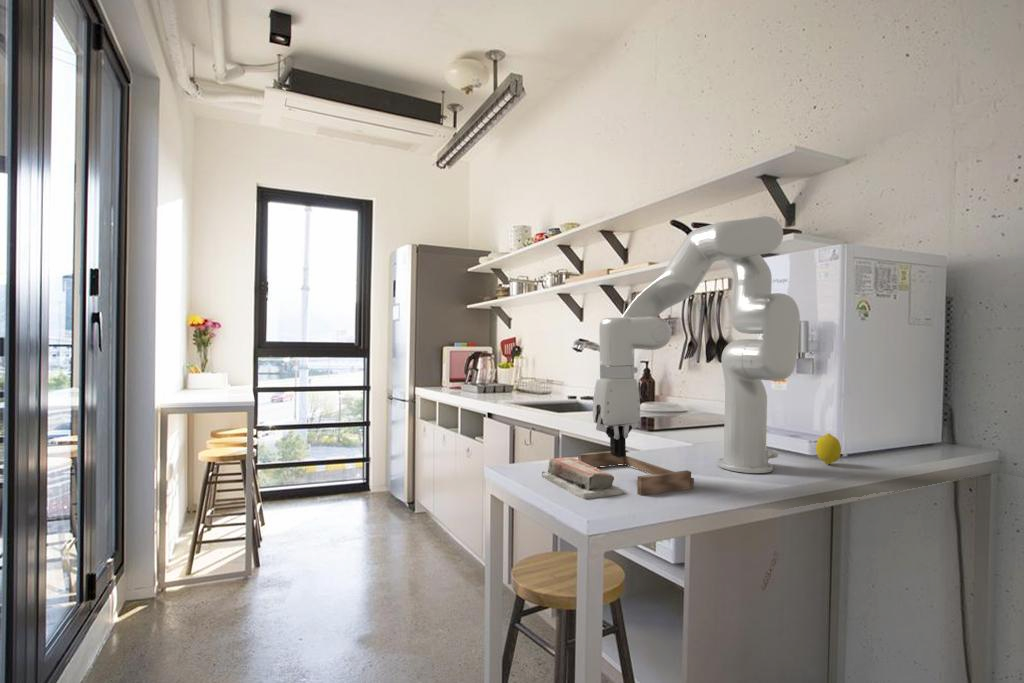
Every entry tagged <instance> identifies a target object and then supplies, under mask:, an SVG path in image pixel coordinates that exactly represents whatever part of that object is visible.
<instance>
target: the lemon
mask: <svg viewBox="0 0 1024 683" xmlns="http://www.w3.org/2000/svg"><path fill="white" fill-rule="evenodd" d="M815 451H816V452H815V453H816V456H817V457H818V458H819V459H820V461H822V462H824V464H826V465H827V464H830V465H832V463H833V464H834V463H835V462H837V461H838V460H839V459H840V457H841V454H842V447H841V443H840V441H839V439H838V438H836V437H835V436H833V435H831V433H826V434H824V435H822V436H820V437H819V438H818V439H817V441H816V444H815Z"/></svg>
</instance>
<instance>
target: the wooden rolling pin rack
mask: <svg viewBox="0 0 1024 683" xmlns="http://www.w3.org/2000/svg"><path fill="white" fill-rule="evenodd" d="M577 460H579V461H582V462H584V463H586V464H588V465H590V466H593V467H600V466H609V465H618V464H626V465H629V466H633V467H635V468H638V469H641V470H643V471H646V472H648V473H650V474H648V473H647V474H646V475H639V476H637V485H636V486H637V488H636V491H637V495H640V496H647V495H654V494H660V493H667V492H675V491H683V490H688V489H694V488H695V478H694V477H692V471H691V470H687V469H686V470H681V471H680V470H679V471H673V470H670V469H667V468H664V467H661V466H657V465H655V464H652V463H649V462H646V461H643V460H640V459H637V458H634V457H630V456H629V455H627V450H625V457H616V456H613V455H611V451H610V450H608V451H598V452H589V453H588V452H587V453H578V458H577ZM626 465H625V466H626ZM651 474H652V475H651ZM646 494H647V495H646Z"/></svg>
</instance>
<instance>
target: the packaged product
mask: <svg viewBox="0 0 1024 683" xmlns="http://www.w3.org/2000/svg"><path fill="white" fill-rule="evenodd" d="M547 469H548V470H547V471H542V472H541V478H542V477H543V479H544V478H545V479H544V480H546V479H547V480H546V481H548V482H549V483H552V484H553V483H554V484H553V485H555V486H557V487H558V488H561V489H562V488H563V490H564V489H565V490H564V491H566V490H567V491H566V492H568V491H569V492H568V493H570V492H571V494H572V495H574V494H575V495H574V496H577V497H578V498H580V499H582V500H589V499H596V498H597V499H598V498H605V497H611V496H619V495H624V494H625V489H623V488H620V487H619V486H615V485H613V482H614V480H615V477H614V476H613V474H611V473H610V472H609V473H608V472H606V471H604V470H601V469H600V468H595V467H593V466H590V465H588V464H586V463H584V462H582V461H579V460H578V458H574V457H571V456H567V457H566V456H565V457H554V458H550V459H549V461H548V467H547ZM588 498H589V499H588Z"/></svg>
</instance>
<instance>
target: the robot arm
mask: <svg viewBox="0 0 1024 683" xmlns="http://www.w3.org/2000/svg"><path fill="white" fill-rule="evenodd" d="M783 239H784V230H783V227H782V225H781V223H780V222H779V221H778V220H777V219H775V218H774V217H771V216H768V215H767V216H766V215H765V216H764V215H763V216H758V217H756V216H755V217H750V218H743V219H734V220H726V221H720V222H716V223H713V224H712V223H711V224H709V225H706V226H705V225H704V226H701V227H698V228H696V229H693V230H692V231H691V232H689V233H688V234H687V235H686V237H685V238H684V240H683V241H682V243H681V244H680V246H679V248H678V249H677V250H676V252H675V253H674V255H673V256H672V258H671V260H670V261H669V263H668V264H667V266H666V267H665V268H664V270H663V272H661V274H660V275H659V276H658V277H657V278H656V279H654V280H653V281H652V282H651V283H650V284H649V285H648V286H646V288H645V289H643V290H642V291H641V292H640V293H639V294H638V295H636V297H635V298H634V299H633V300H632V301H631V303H630V304H629V305H628V306H627V308H626V310H625V311H624V312H623V314H622V315H621V317H606V318H602V319H601V320H600V321H599V328H598V329H599V379H596V381H595V386H594V394H593V401H592V403H593V404H592V421H593V423H595V424H596V428H595V430H596V431H599V432H602V433H605V434H606V435H607V437H608V438H609V442H610V443H609V446H610V447H609V448H610V450H609V451H611V455H613V456H616V457H625V451H627V450H626V439H628V437H629V434H630V432H632V430H634V429H636V428H638V427H639V421H640V418H641V399H640V391H639V384H638V381H637V378H635V374H637V373H638V370H639V369H638V368H637V367H636V366H635V350H644V351H645V350H646V351H656V350H660V349H662V348H664V347H666V346H667V345H668V344H669V343H670V341H671V338H672V333H673V331H672V327H671V325H670V324H669V323H668V322H667V321H666V320H665V319H664V318H661V317H659V315H661V314H662V313H663V312H664V311H666V310H667V309H669V308H671V307H673V306H675V305H678V304H679V303H681V302H684V301H685V300H686V299H689V297H691V296H693V294H695V293H696V291H697V289H698V287H699V286H700V284H701V282H702V281H703V279H704V278H705V276H706V275H707V273H708V272H709V270H710V268H711V267H712V265H713V264H714V263H716V262H719V261H725V262H726V263H727V264H728V266H729V267H730V269H731V272H732V274H733V294H732V306H731V307H732V308H731V325H732V326H733V328H734V330H736V332H739V333H741V334H745V335H746V334H749V335H753V334H754V335H763V336H762V339H758V338H756V339H755V338H754V339H753V338H749V339H748V338H746V339H743V338H742V339H737V340H733V341H731V342H729V343H728V344H727V345H726V346H725V347H724V349H723V351H722V353H721V359H720V360H721V368H722V373H723V378H724V379H723V380H724V425H723V426H724V427H723V428H724V430H723V431H724V435H723V436H724V437H723V438H724V439H723V457H720V458H717V461H716V464H717V465H716V466H718V467H719V468H722V469H724V470H727V471H732V472H738V473H744V474H768V473H771V472H772V471H773V470H774V466H773V464H772V463H770V462H769V460H770V459H776V458H778V457H779V452H778V451H777V450H775V449H771V450H769V449H767V432H768V430H767V427H768V426H767V422H768V421H767V420H768V419H767V418H768V395H767V391H766V387H765V385H764V383H763V381H771V382H780V381H784V380H786V379H788V378H789V377H791V375H793V372H794V370H795V367H796V364H797V358H798V347H799V335H800V334H799V333H800V324H801V323H800V322H801V320H800V319H801V317H800V316H801V315H800V310H799V305H797V303H796V301H795V299H794V298H793V297H792V296H790V295H788V294H786V293H780V292H779V293H778V292H777V293H775V292H774V293H772V284H773V283H772V272H771V268H770V267H769V265H768V263H767V262H766V260H765V259H764V257H762V256H761V255H765V254H770V253H772V252H774V251H776V250H777V249H778V248H779V247H780V246H781V244H782V242H783ZM762 380H763V381H762Z"/></svg>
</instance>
